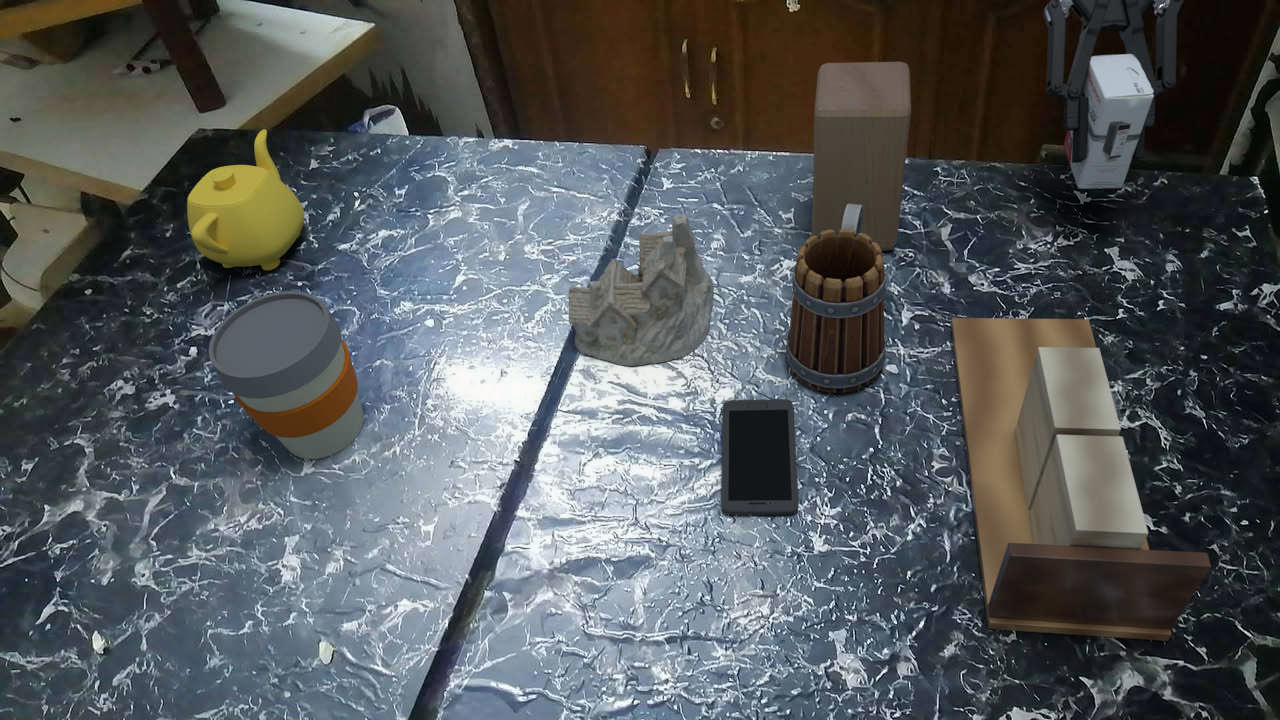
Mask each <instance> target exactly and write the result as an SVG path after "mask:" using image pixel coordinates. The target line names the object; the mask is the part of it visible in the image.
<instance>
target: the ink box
mask: <svg viewBox="0 0 1280 720" xmlns="http://www.w3.org/2000/svg"><path fill="white" fill-rule="evenodd" d="M1153 92H1154V91H1153V89H1152V87H1151V85H1150V83H1149V81H1148V79H1147V77H1146V75H1145V73H1144V71H1143V69H1142V67H1141V65H1140V63H1139V61H1138V60H1137V58H1136V57H1135V56H1134V55H1133V54H1127V53H1124V54H1123V53H1122V54H1102V55H1092V56H1091V60H1090V63H1089V66H1088V70H1087V73H1086V76H1085V80H1084V83H1083V86H1082V90H1081V93H1080V95H1079V98H1080V97H1088V119H1087V154H1086V159H1084V160H1083V161H1081V162H1079V163H1072V143H1073V131H1066V135H1065V139H1064V142H1063V144H1062V145H1063V149H1064V152H1065V155H1066V158H1067V160H1068V164H1069V166H1070V169H1071V172H1072V175H1073V178H1074V180H1075V184H1076V186H1077V188H1078V189H1083V190H1085V189H1086V190H1087V189H1089V190H1090V189H1121V188H1123V187H1124V183H1125V180H1126V177H1127V174H1128V172H1129V169H1130V166H1131V162H1132V161H1131V160H1132V157H1133V154H1134V151H1135V148H1136V145H1137V143H1138V140H1139V137H1140V134H1141V131H1142V128H1143V125H1144V122H1145V119H1146V117H1147V114H1148V111H1149V108H1150V105H1151V102H1152V100H1153V97H1154V95H1153Z"/></svg>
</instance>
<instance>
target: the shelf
mask: <svg viewBox="0 0 1280 720" xmlns="http://www.w3.org/2000/svg"><path fill="white" fill-rule="evenodd" d="M950 333H951V339H952V349H953V357H954V364H955V373H956V380H957V381H956V382H957V388H958V399H959V405H960V413H961V414H960V415H961V422H962V430H963V438H964V445H965V454H966V462H967V469H968V478H969V479H968V480H969V486H970V493H971V504H972V511H973V520H974V527H975V534H976V543H977V552H978V559H979V568H980V576H981V583H982V585H981V586H982V592H983V601H984V608H985V609H984V610H985V616H986V624H987V626H986V627H987V629H988V630H1000V631H1013V632H1014V631H1015V632H1027V633H1028V632H1029V633H1045V634H1058V635H1059V634H1060V635H1073V636H1074V635H1075V636H1086V637H1087V636H1089V637H1103V638H1116V639H1117V638H1118V639H1131V640H1134V639H1135V640H1148V641H1163V642H1168V641H1169V640H1170V638H1171V636H1172V633H1173V632H1172V628H1173V627H1174V626H1175V624H1176V622H1177V621H1178V619H1179V618H1180V616H1181V615H1182V613H1183V612H1184V610H1185V608H1186V607H1187V605H1188V604H1189V602H1190V600H1191V599H1192V597H1193V596H1194V594H1195V593H1196V592H1197V590H1198V588H1199V587H1200V585H1201V584H1202V583H1203V580H1204V579H1205V577H1206V576H1207V575H1208V573H1209V571H1210V569H1211V568H1212V564H1211V561H1210V557H1209V554H1208V553H1207V552H1200V551H1181V550H1180V551H1179V550H1178V551H1177V550H1160V549H1159V550H1158V549H1150V547H1149V543H1148V539H1147V537H1148V536H1149V530H1148V527H1147V522H1146V519H1145V515H1144V511H1143V507H1142V504H1141V500H1140V496H1139V492H1138V489H1137V485H1136V482H1135V481H1136V480H1135V477H1134V473H1133V470H1132V466H1131V461H1130V459H1129V455H1128V451H1127V448H1126V443H1125V440H1124V436H1120V433H1121V430H1122V428H1121V424H1120V420H1119V417H1118V413H1117V410H1116V405H1115V402H1114V398H1113V394H1112V390H1111V388H1110V387H1111V386H1110V383H1109V378H1108V376H1107V375H1108V374H1107V372H1106V368H1105V365H1104V361H1103V357H1102V353H1101V349H1100V347H1097V345H1096V343H1095V342H1096V341H1095V337H1094V333H1093V329H1092V326H1091V322H1090V319H1089V318H1016V317H1015V318H1006V317H1005V318H1004V317H1001V318H999V317H997V318H996V317H952V318H951V321H950Z"/></svg>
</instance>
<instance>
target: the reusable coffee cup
mask: <svg viewBox="0 0 1280 720" xmlns="http://www.w3.org/2000/svg"><path fill="white" fill-rule="evenodd" d="M208 355H209V360H210V363H211V365H212V366H213V368H214V371H215V372H216V375H217V377H218V379H219V380H220V382H221V384H222V386H223V387H224V388H225V389H226V390H227V391H228V392H230V393H231V394H233V395H234V397H235V398H234V399H236V402H238V404H239V405H240V406H241V408H242V409H243V410H244V411H245V412H246V413H247V414H248V415H249V416H250V417H251V418H252V419H253V420H254V421H255V423H257V424H258V425H259V427H260V428H262V429H263V431H265V433H268V434H270V435H273V436H274V437H276V438H277V439H278V441H279V442H280V443H281V444H282V445H283V446H284V448H286V449H287V450H288V451H289V452H290V453H291V454H292V455H294V456H296V457H298V458H300V459H303V460H304V459H305V460H318V459H319V460H320V459H324V458H326V457H330V456H333V455H336V454H338V453H339V452H340V451H342V450H345V448H347V447H348V446H350V445H351V444H352V443H353V442H354V440H356V439H357V437H358V436H359V434H360V432H362V429H363V427H364V422H365V413H364V410H363V409H364V408H363V407H362V404H361V400H360V396H359V393H358V389H359V384H358V383H359V382H358V381H359V380H358V377H357V374H356V371H355V368H354V365H353V361H352V358H351V355H350V352H349V349H348V347H347V344H346V343H345V342H344V340H343V339H342V330H341V327H340V325H339V323H338V321H337V320H336V318H335V317H334V315H333V314H332V312H330V309H329V308H328V307H327V305H326V304H325V303H324V302H323V300H322V299H320V298H319V297H317V296H316V295H313V294H312V293H309V292H304V291H298V290H285V291H278V292H273V293H269V294H265V295H262V296H260V297H258V298H254V299H252V300H250V301H249V302H247V303H244V304H243V305H241V306H240V307H238V308H236V309H235V310H233V311H232V312H231V313H230V314H229V315H228V316H227V317H225V318H224V319H223V320H222V322H221V323H220V324H219V325H218V326H217V327H216V329H215V330H214V332H213V334H212V336H211V338H210V342H209V345H208Z"/></svg>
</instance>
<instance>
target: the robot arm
mask: <svg viewBox="0 0 1280 720" xmlns="http://www.w3.org/2000/svg"><path fill="white" fill-rule="evenodd" d="M1183 2H1184V0H1049V2H1048V3H1047V5H1046V6H1045V8H1043V12H1042V14H1043V17H1044V20H1045V23H1046V26H1047V31H1048V32H1047V51H1046V53H1047V54H1046V75H1045V77H1046V79H1045V94H1046V96H1048V97H1049V98H1052V97H1054V98H1058V99H1060V100H1061V102H1062V103H1063V121H1062V122H1063V126H1062V127H1063V129H1064V131H1065V132H1067V131H1073V143H1072V163H1079V162H1081V161H1083V160H1084V159H1086V154H1087V119H1088V97H1080V98H1079V95H1080V93H1081V90H1082V86H1083V83H1084V80H1085V76H1086V73H1087V70H1088V66H1089V63H1090V60H1091V56H1093V53H1094V49H1095V47H1096V43H1097V40H1098V37H1099V34H1100V33H1101V32H1105V31H1113V32H1119V36H1120V39H1121V41H1123V43H1124V48H1125V52H1126V54H1133V55H1134V56H1135V57H1136V58H1137V60H1138V61H1139V63H1140V65H1141V67H1142V69H1143V71H1144V73H1145V75H1146V77H1147V79H1148V81H1149V83H1150V85H1151V87H1152V89H1153V91H1154V92H1153V95H1154V97H1153V100H1152V102H1151V105H1150V108H1149V111H1148V114H1147V117H1146V119H1145V122H1144V125H1143V128H1142V131H1141V134H1140V137H1139V140H1138V143H1137V145H1136V148H1135V151H1134V154H1133V157H1132V160H1131V162H1137V161H1139V160H1141V159H1143V158H1144V157H1145V138H1146V137H1145V136H1146V129H1147V130H1148V129H1150V128H1151V127H1153V126H1154V123H1155V121H1156V116H1155V115H1156V99H1157V95H1160V94H1163V93H1164V94H1165V93H1166V92H1167V91H1169V90H1171V88H1173V87H1175V85H1176V83H1177V44H1178V43H1177V41H1178V40H1177V39H1178V38H1177V37H1178V36H1177V35H1178V15H1179V12H1180V9H1181V7H1182V5H1183ZM1150 5H1152V6H1153V8H1154V9H1153V12H1154V15H1155V16H1156V17H1157V19H1156V26H1155V27H1156V28H1155V73H1154V69H1153V65H1152V61H1151V56H1150V53H1149V50H1148V49H1149V48H1148V44H1147V41H1146V37H1145V33H1144V29H1145V25H1144V20H1143V16H1142V15H1143V14H1144V13H1145V11H1147V8H1148V7H1149V6H1150ZM1070 8H1071V9H1072V11H1073V12H1074V13H1075V14H1076V16H1077V17H1078V18H1079V20H1080V21H1081V22H1082V27H1081V32H1080V35H1079V38H1078V39H1079V41H1078V44H1077V48H1076V50H1075V51H1076V52H1075V54H1074V58H1073V62H1072V65H1071V68H1070V71H1069V74H1068V77H1067V82H1066V83H1064V77H1065V51H1066V29H1067V26H1066V25H1067V24H1066V23H1067V21H1066V19H1068V17H1069V15H1070Z"/></svg>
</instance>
